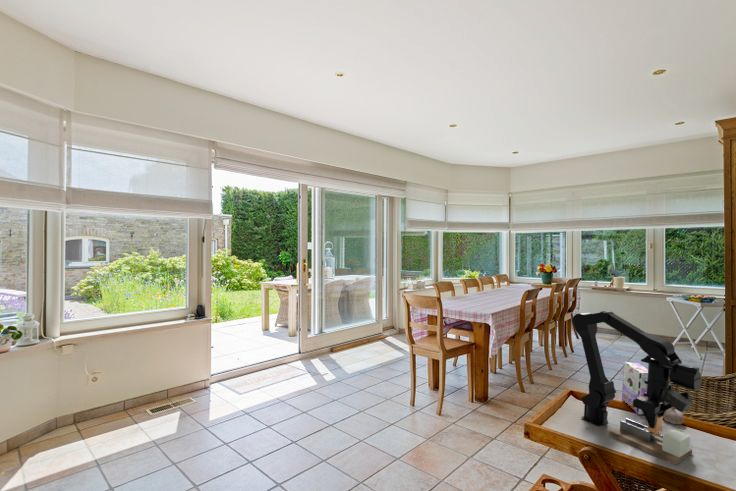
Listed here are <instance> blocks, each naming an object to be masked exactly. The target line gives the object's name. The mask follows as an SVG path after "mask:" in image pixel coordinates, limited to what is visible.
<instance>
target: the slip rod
mask: <svg viewBox="0 0 736 491" xmlns="http://www.w3.org/2000/svg"><path fill="white" fill-rule="evenodd" d="M663 419H664V418H663V416H661V415H657V419H656V423H655V426H654V428H650V427H649V425H648V424H647V427H648V429H646V428H643V430H646V431H648V432H651V439H653V440H656V441H658V442H660V443H663V434H661V433H660V432H662V430H663Z"/></svg>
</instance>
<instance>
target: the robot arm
mask: <svg viewBox="0 0 736 491" xmlns="http://www.w3.org/2000/svg"><path fill="white" fill-rule="evenodd" d="M571 323H572V325H573V328H574V330H575V332H576V334H578V336H579V337H580V338H581V339H580V340H581V343H582V348H583V351H584V355H585V356H584V357H585V359H586V364H587V368H588V373H589V378H590V379H589V383H588V394H586V395H584V396H582V397H581V400H582V404H584V408H583V416H581V417H580V418H581V419H582V420H584V421H586V422H588V423H591V424H593V425H596V426H598V427H599V426H603V425H605V424H608V423H609V420H608V410H607V405H608V404H610V402H612V401H613V400H614V399H615V398H616V393H617V390H616V389H615V383H614V381H613V380H609V379H608V378H607V377H606V374H605V369H604V366H603V363H602V358H601V354H600V349H599V345H598V341H597V331H598V324H601V323H605V324H606V325H607V326H609V327H611V328H612V329H614V330H616V331H617V332H618V333H620V334H622V335H624V336H625V338H626V337H627V338H628V339H630V340H631V341H633V342H634V343H636V344H637V345H638V346H639V348H640V349H641V350H642V351H643V352H644V353H646V354H647V355H646V356H645V357H644V358H642V359H640V361H641V362H642V363H646V364H647V365H648V366H647V369H648V377H647V380H645V382H644V383H645V384H647V391H646V392H644V396H646V397H648V398H649V399H647V398H644V397H642V396H641V397H639V398H636V399H634V400H633V407H636V408H638V409H641V410H642V412H643V414H644V415H643V416H644V418H645V420H646V422H647V426H648V425H649V427H650V428H654V426H655V423H656V419H657V415H661V416H663V419H664V415H665V413H666V411H667V410H668V409H670V408H672V407H675V409H676V410H678V411H680V412H681V413H684V412H685V411H687V410H688V409H689V407H690V406H691V405H693V400H692V396H691V393H689V392H688V391H686V390H685V391H682V392H681V393H680V391H676V390H674V389H673V388H674V386H673V385H676V386H679V387H682V388H686V389H689V390H692V391H695V392H697V391H699V390H700V389H701V387H702V382H703V378H702V374H701V372H700V368H699V367H696V366H690V365H687V364H684V363H683V361H682V359H681V358H680V357H679V356H678V354H677V353H676V351H675V347H674V344H673V343H672V342H671V341H670V340H667V339H665V338H663V337H659V336H657V335H654V334H651V333H648V332H645V331H644V330H642V329H641V328H639V327H638V326H635V325H633V323H631V322H629V321H627V320H625V319H624V318H622V317H620V316H619V315H617V314H616V313H615V312H613V311H612V310H603V311H600V312H596V313H592V312H587V311H586V312H579V313H576V314H574V315H573V317H572V319H571ZM670 382H672V383H670Z"/></svg>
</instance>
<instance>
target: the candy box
mask: <svg viewBox="0 0 736 491" xmlns="http://www.w3.org/2000/svg"><path fill="white" fill-rule="evenodd" d="M622 374H623V376H622V393H621V395H622V396H621V401H625V402H627V403H628V404H631V405H632V406H633V400H634V399H636V398H639V397H641V396H642V397H644V398H647V399H649V398H648V397H646V396H644V392H646V391H647V384H645V383H644V382H645V380H647V377H648V367H647V368H646V367H645V366H643V365H642V364H641V363H638V362H633V361H632V362H631V361H630V362H629V361H624V362H623V373H622ZM625 402H624V403H625ZM633 410H634V411H633ZM633 410H632V411H633V412H634V413H636V415H641V416H644V414H643V412H642V410H641V409H638V408H636V407H633Z"/></svg>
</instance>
